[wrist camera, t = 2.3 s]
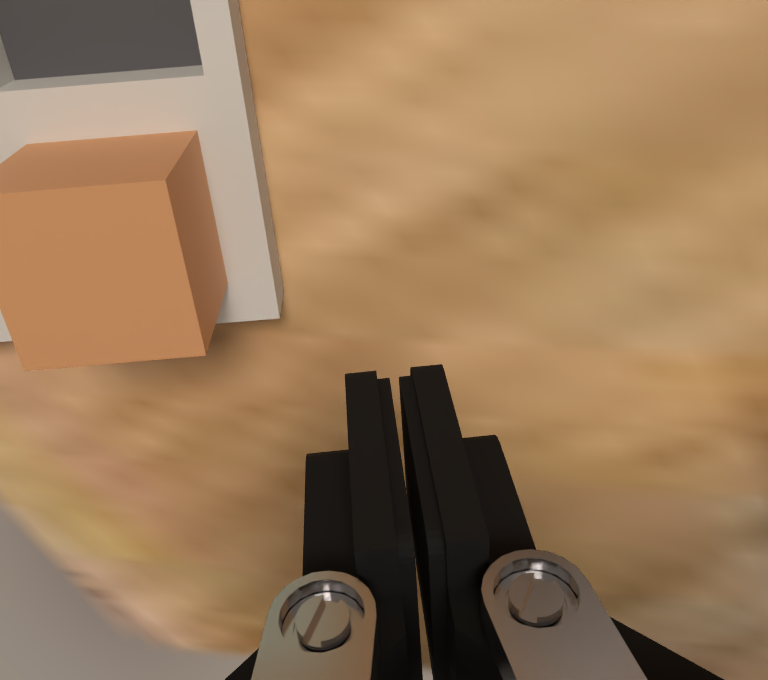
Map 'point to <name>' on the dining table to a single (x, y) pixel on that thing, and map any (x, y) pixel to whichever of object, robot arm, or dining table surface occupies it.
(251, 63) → the dining table surface
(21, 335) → the block
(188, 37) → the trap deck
